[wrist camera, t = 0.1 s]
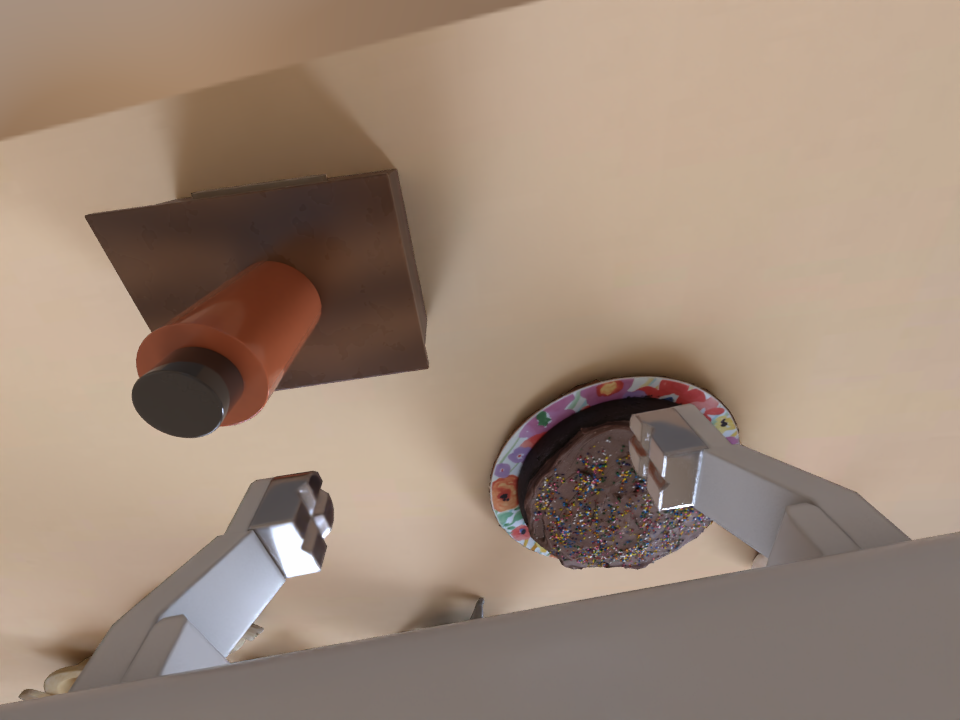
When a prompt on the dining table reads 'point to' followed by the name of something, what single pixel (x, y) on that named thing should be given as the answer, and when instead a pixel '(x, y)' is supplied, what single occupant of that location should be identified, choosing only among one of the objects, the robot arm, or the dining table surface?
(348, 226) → the dark brown wooden box
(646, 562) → the chocolate cake
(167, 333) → the orange bottle
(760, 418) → the dining table surface
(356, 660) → the robot arm
